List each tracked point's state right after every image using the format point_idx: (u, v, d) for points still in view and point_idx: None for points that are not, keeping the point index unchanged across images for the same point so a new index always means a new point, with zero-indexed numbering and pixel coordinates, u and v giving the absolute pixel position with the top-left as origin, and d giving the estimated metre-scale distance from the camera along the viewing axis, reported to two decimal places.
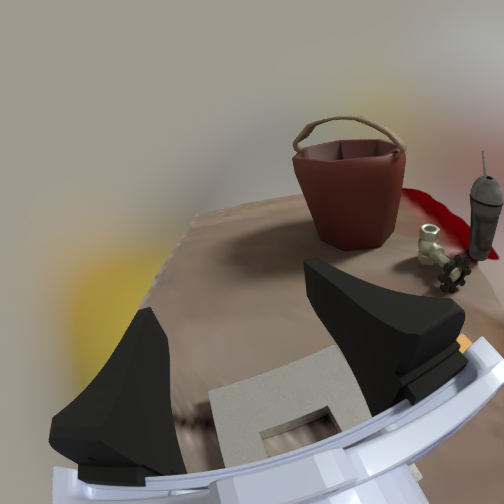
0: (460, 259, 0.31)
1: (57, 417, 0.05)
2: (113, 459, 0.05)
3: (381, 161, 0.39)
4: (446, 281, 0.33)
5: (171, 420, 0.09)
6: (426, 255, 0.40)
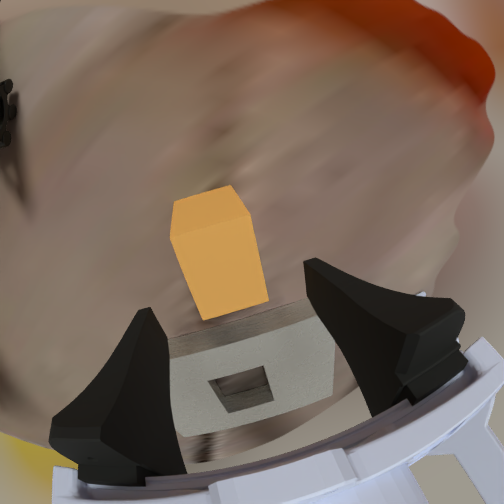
0: None
1: (57, 417, 0.05)
2: (113, 459, 0.05)
3: None
4: None
5: (171, 420, 0.09)
6: None
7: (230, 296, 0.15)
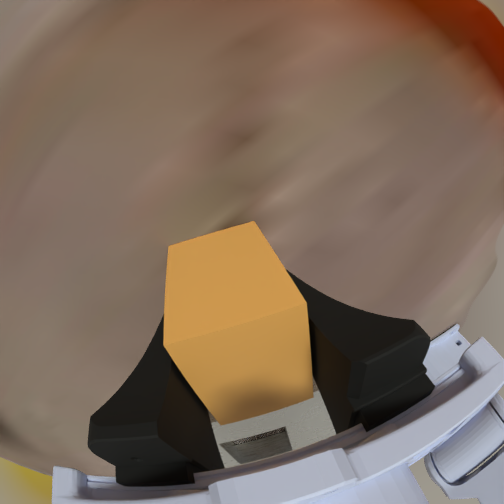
0: None
1: (96, 416, 0.05)
2: (162, 457, 0.05)
3: None
4: None
5: (207, 413, 0.09)
6: None
7: (261, 401, 0.09)
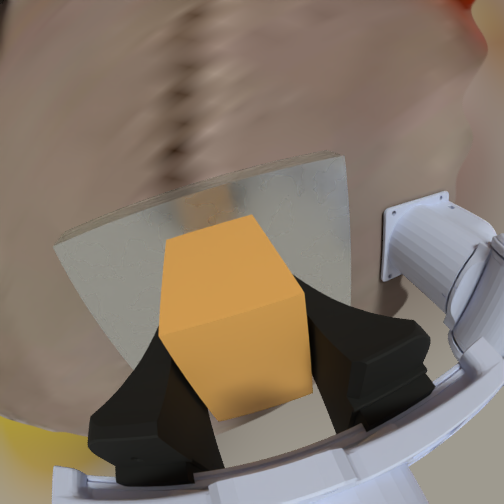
0: None
1: (96, 416, 0.05)
2: (162, 457, 0.05)
3: None
4: None
5: (207, 413, 0.09)
6: None
7: (259, 397, 0.09)
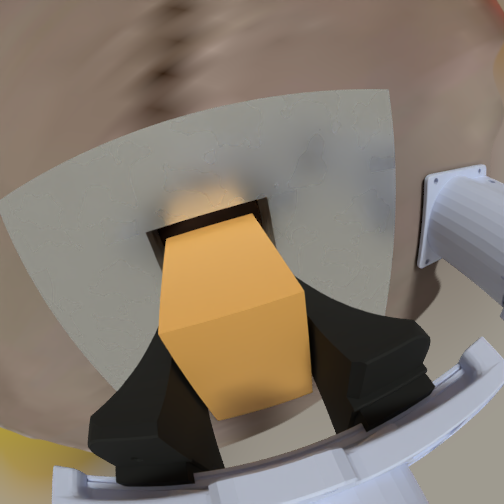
0: None
1: (96, 416, 0.05)
2: (162, 457, 0.05)
3: None
4: None
5: (207, 413, 0.09)
6: None
7: (259, 396, 0.09)
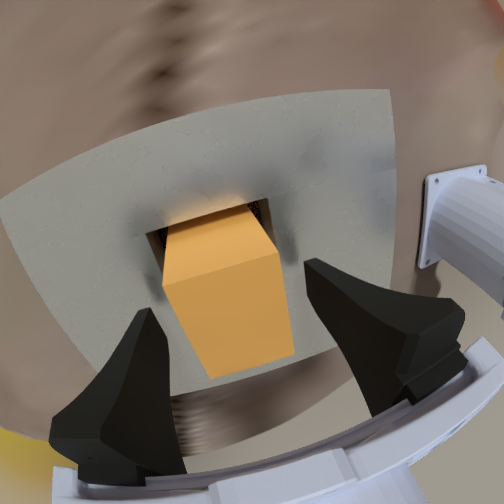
0: None
1: (57, 417, 0.05)
2: (113, 459, 0.05)
3: None
4: None
5: (171, 420, 0.09)
6: None
7: (246, 353, 0.11)
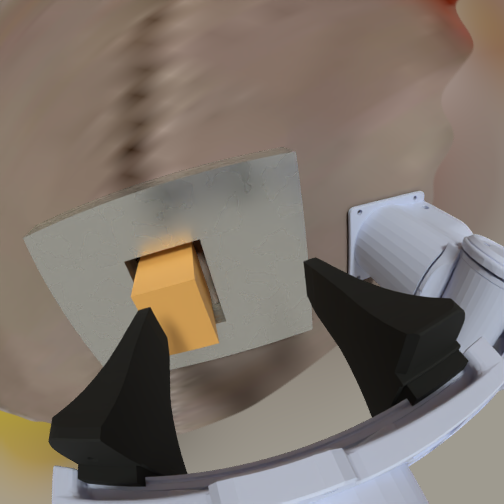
0: None
1: (57, 417, 0.05)
2: (113, 459, 0.05)
3: None
4: None
5: (171, 420, 0.09)
6: None
7: (185, 339, 0.17)
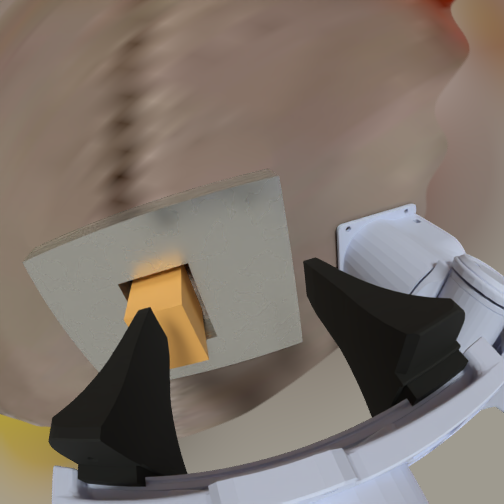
0: None
1: (57, 417, 0.05)
2: (113, 459, 0.05)
3: None
4: None
5: (171, 420, 0.09)
6: None
7: (177, 356, 0.18)
